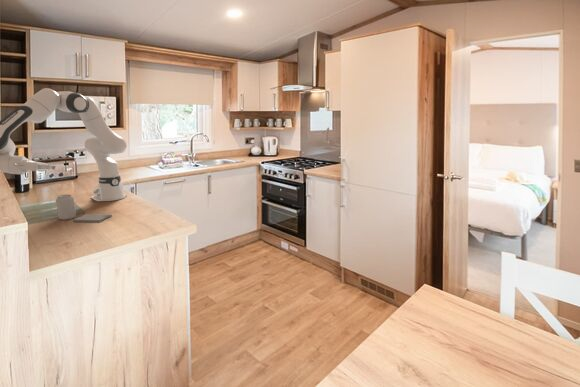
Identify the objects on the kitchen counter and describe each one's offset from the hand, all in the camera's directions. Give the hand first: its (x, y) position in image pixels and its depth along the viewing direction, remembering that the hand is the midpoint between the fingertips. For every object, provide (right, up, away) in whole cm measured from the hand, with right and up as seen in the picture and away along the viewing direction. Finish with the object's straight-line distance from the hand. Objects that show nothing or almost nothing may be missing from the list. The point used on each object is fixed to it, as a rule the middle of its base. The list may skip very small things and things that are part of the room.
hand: (53, 167), depth 175 cm
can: (+2, -25, +7) cm, 27 cm away
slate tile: (+17, -26, +5) cm, 31 cm away
